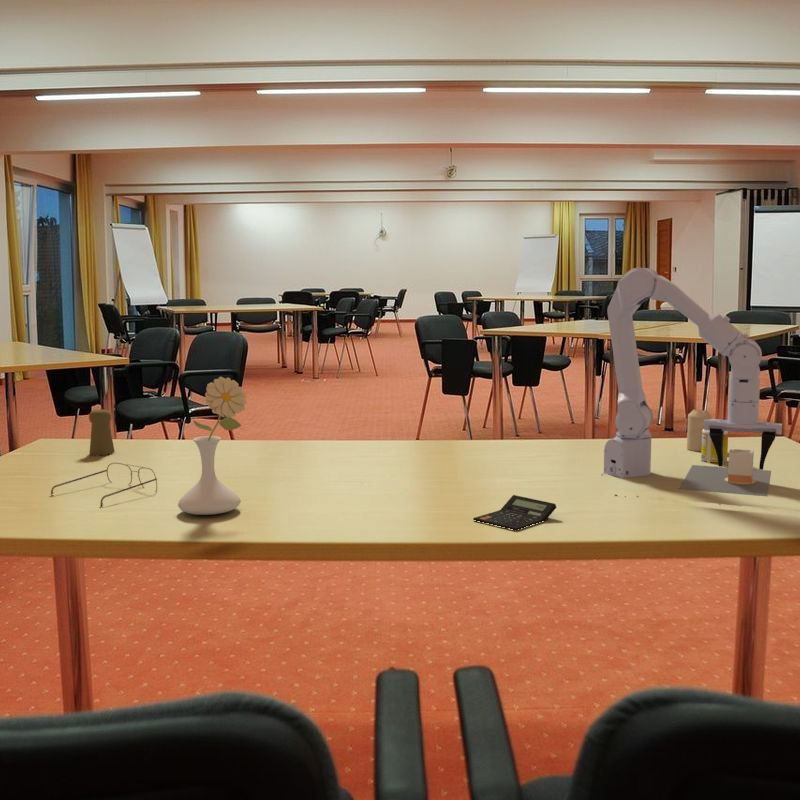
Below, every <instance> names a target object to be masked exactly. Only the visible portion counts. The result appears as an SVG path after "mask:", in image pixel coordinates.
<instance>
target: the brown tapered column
mask: <svg viewBox="0 0 800 800" xmlns="http://www.w3.org/2000/svg"><path fill="white" fill-rule="evenodd" d="M88 419H89V422H90V424H91V428H90V429H91V431H90V441H89V444H90V445H89V453H88V454H89V455H90V454H91V455H90V456H92V455H104V456H109V455H108V454H111V455H113V454H112V453H114V452H115V453H116V451H115V447H114V442H113V436H112V432H111V425H110V422H111V421H112V415H111V412H110V411H109V410H107V409H101V408H100V409H95V410H92V411H90V413H89V415H88ZM115 453H114V454H115Z"/></svg>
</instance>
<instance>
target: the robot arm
mask: <svg viewBox="0 0 800 800" xmlns="http://www.w3.org/2000/svg"><path fill="white" fill-rule="evenodd" d="M649 299H651V300H654V301H661V302H665V303H668V304H669V305H670V306H672V307H673V308H674V309H675V310H676V311H678V313H679V312H680V313H681V314H682V315H683V316H685V317H686V318H687V319H689V321H691V322H692V323H694V324H695V325H696V326H697V327H698V336H699V337H700V338H701V339H702V340H704V341H705V342H706V343H707V344H709V345H710V346H711V348H713V349H714V350H716V351H717V352H718V353H719V354H721V356H725V357H728V361H729V364H730V365H731V366H730V367H731V368H730V376H729V382H728V385H729V386H728V408H727V411H728V412H727V419H717V420H705V421H704V430H710V433H709V435H710V438H711V440H712V442H713V445H714V447H715V450H716V453H717V458H718V466H717V467H724V466H723V465H724V463H723V436H724V431H728V432H742V433H760V434H761V441H760V442H761V444H760V457H759V458H760V459H759V465H758V466H759V469H758V470H764V466H765V465H764V464H765V461H766V458H767V455H768V453H769V450H770V449H771V446H772V444H774V441H775V439H776V435H782V434H783V432H782V431H783V423H776V422H766V421H765V422H764V421H759V409H760V408H759V406H760V391H761V388H760V387H761V378H760V374H761V369H760V363H761V360H762V356H763V354H762V348H761V347H760V346H759V343H757V342H756V340H754V339H749V337H750V335H749V334H748V333H747V332H744V333H743V332H742V331H741V330H739V329H738V328H737V327H736V326H735V325H733V324H732V323H730V321H731V318H730V317H728V316H727V315H723V316H722V315H721V314H720V313H715V314H709V312H707V311H706V310H704V309H703V308H702V306H700V305H699V304H698V303H697V302H696V301H695V300H693V299H692V298H691V297H690V296H689V295H688V294H686V293H685V292H684V291H683V290H682V289H681V288H680V287H679V286H678V285H677V284H675V283H674V282H672V281H671V280H669V279H668V278H666V277H664V276H663V275H659V273H658V272H657V271H656V270H654V269H652V268H650V267H649V268H648V267H635V268H631V269H630V270H628V271H627V272H626V273H624V275H623V276H622V277H621V278H620V279H619V280H618V281H617V286H616V289H615V291H614V292H613V295H612V297H611V299H610V302H609V304H608V306H607V311H606V312H607V318H608V328H609V333H610V339H611V347H612V354H613V360H614V368H615V375H616V377H615V378H616V383H617V391H618V395H617V413H616V416H615V421H614V424H615V427H616V429H617V431H616V432H615V433H616V436H615V437H614V438H613V437H612V438H611V439H609V440H607V441H606V442H605V445H604V449H603V450H604V451H603V453H604V454H603V473H601V474H600V475H601V476H602V477H603V476H604V475H605V474H606V475H609V476H614V477H617V478H621V479H629V478H633V477H634V478H635V477H646V476H650V475H651V471H652V470H651V468H652V467H651V466H652V463H651V462H652V437H653V436H652V435H653V434H652V433H651V432H650V430H649V427H650V426H651V424H652V422H653V420H654V415H653V411H652V409H651V407H650V406H649V404H648V402H647V397H646V393H645V391H644V389H643V385H642V384H643V382H642V377H641V370H640V364H639V363H640V362H639V356H638V348H637V341H636V334H635V333H636V332H635V326H634V325H635V324H634V320H633V319H634V317H633V315H634V314H635V312H636V311H637V310H638V309H639V308H640V307H641V305H642V304H643V303H644V302H646V301H648V300H649Z"/></svg>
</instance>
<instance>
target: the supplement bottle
mask: <svg viewBox="0 0 800 800" xmlns="http://www.w3.org/2000/svg"><path fill="white" fill-rule="evenodd" d="M709 420H718V419H717V418H716V419H715V418H714V419H713V418H712V419H709ZM709 433H710V430H704V429H703V430H702V448H701V451H700V452H701V453H700V458H701V459H700V461H701V462H702V463H708V464H718V458H717V453H716V450H715V447H714V445H713V442H712V440H711V438H710V435H709ZM728 445H729V431H724V436H723V464H726V463H728V453H729V452H728V448H729V446H728Z"/></svg>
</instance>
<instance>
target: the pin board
mask: <svg viewBox="0 0 800 800" xmlns="http://www.w3.org/2000/svg"><path fill="white" fill-rule="evenodd" d="M771 474H772V470H767V469H766V470H765V469H763V470H761V469H754V468H753V479H752V483H740V482H728V467H725V466H722V467H720V466H711V465H698V464H692V465H691V466H690V469H689V471H688V472H687V474H686V475H685V478H684V479H683V481H682V483H681V484H680V486H679V488H678V489H679V490H685V491H686V490H687V491H701V492H709V493H711V492H712V493H723V494H733V495H746V496H758V497H760V496H761V497H768V494H769V489H770V488H769V487H770V481H771V480H770V479H771Z"/></svg>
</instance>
